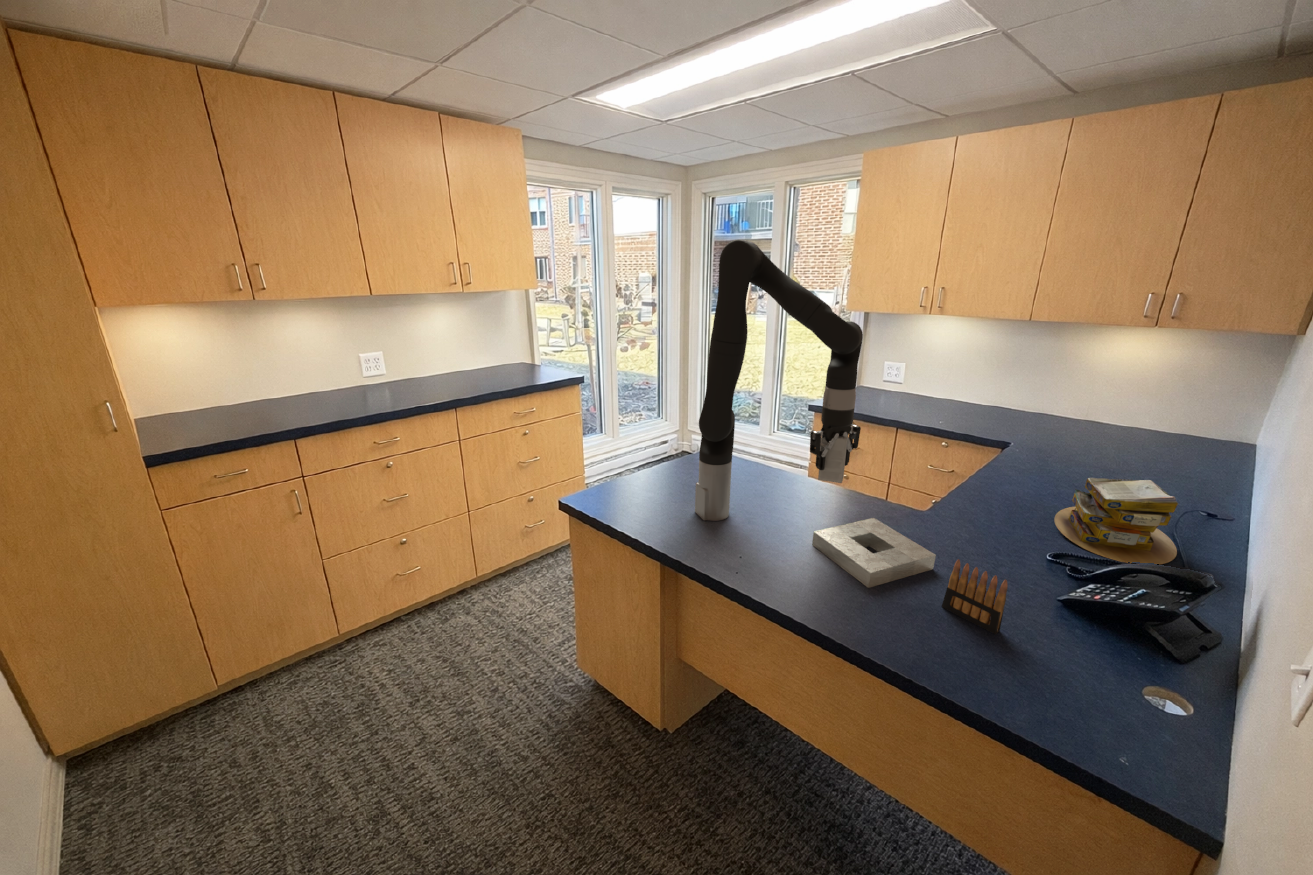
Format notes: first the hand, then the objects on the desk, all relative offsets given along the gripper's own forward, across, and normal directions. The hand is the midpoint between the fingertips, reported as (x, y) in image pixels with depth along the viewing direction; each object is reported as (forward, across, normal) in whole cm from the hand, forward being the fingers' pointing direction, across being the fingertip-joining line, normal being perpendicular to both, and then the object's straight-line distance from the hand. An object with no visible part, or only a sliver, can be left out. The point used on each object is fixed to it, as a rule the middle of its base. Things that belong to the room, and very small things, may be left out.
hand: (832, 466), depth 131 cm
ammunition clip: (+21, +6, -38) cm, 44 cm away
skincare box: (+4, 0, 0) cm, 4 cm away
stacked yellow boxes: (+22, +70, -30) cm, 79 cm away
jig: (+20, +4, -12) cm, 24 cm away
